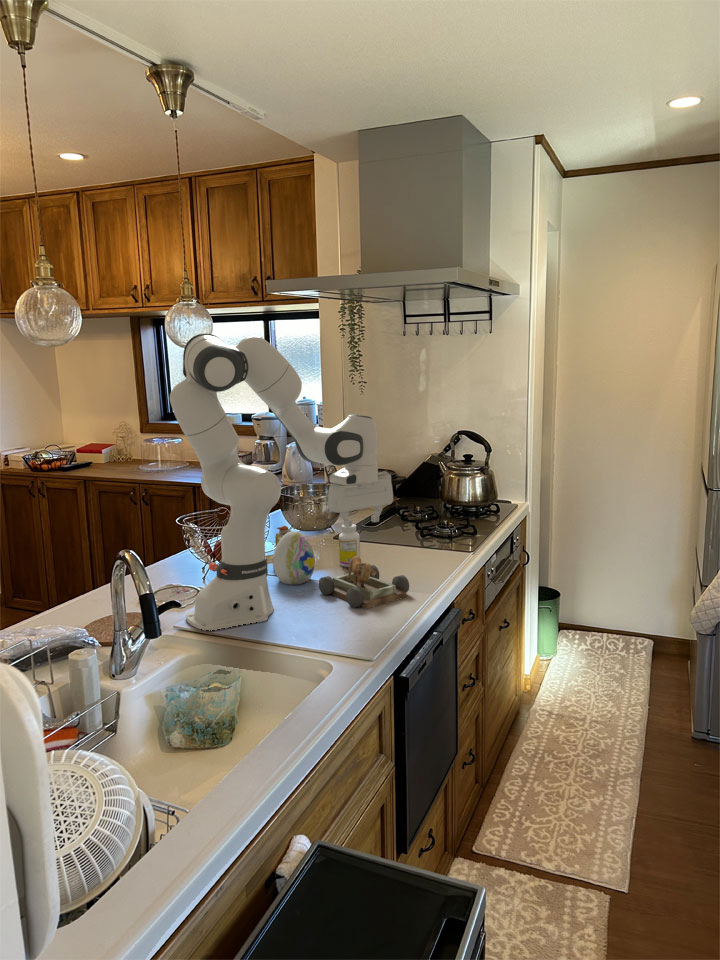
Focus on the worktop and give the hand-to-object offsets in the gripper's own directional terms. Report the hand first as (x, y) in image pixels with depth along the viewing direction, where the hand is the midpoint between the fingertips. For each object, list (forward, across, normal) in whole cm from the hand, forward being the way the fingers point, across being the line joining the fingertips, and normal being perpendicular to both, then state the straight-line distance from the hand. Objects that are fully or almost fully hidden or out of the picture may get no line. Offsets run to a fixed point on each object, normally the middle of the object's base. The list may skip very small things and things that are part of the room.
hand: (361, 524), depth 197 cm
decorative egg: (+20, +7, -23) cm, 32 cm away
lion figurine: (+18, 0, -3) cm, 18 cm away
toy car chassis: (+20, 0, 0) cm, 20 cm away
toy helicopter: (+20, +1, -39) cm, 44 cm away
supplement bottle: (+20, -15, -25) cm, 35 cm away
